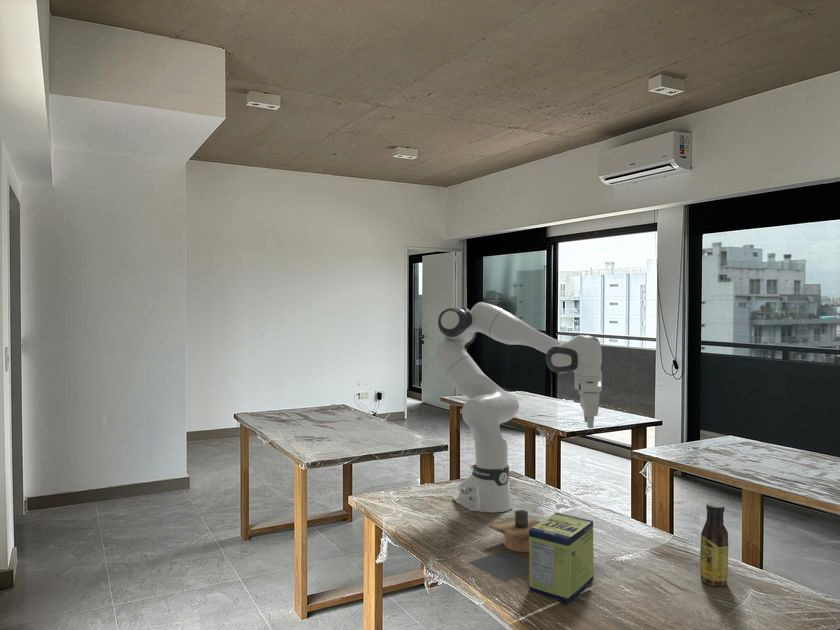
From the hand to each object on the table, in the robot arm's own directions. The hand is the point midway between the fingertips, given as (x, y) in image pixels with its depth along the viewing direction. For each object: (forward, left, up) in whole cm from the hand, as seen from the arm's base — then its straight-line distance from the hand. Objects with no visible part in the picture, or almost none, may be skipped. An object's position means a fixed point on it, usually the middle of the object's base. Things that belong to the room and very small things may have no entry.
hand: (588, 425), depth 204 cm
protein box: (+30, -49, -30) cm, 64 cm away
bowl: (+7, -39, -29) cm, 49 cm away
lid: (+7, -39, -24) cm, 46 cm away
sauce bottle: (+52, -17, -30) cm, 62 cm away
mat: (+14, -52, -29) cm, 61 cm away
